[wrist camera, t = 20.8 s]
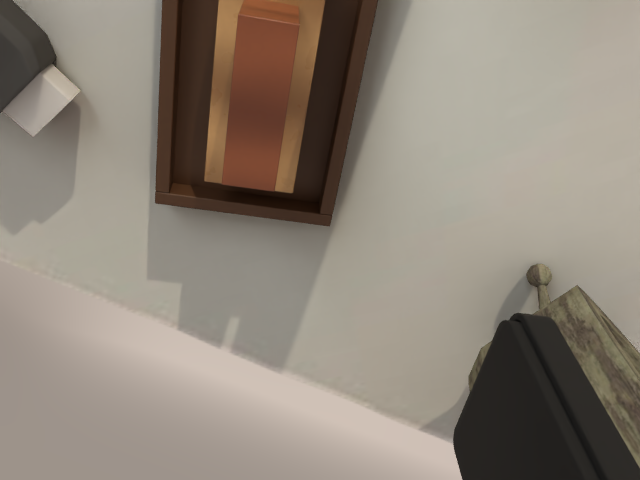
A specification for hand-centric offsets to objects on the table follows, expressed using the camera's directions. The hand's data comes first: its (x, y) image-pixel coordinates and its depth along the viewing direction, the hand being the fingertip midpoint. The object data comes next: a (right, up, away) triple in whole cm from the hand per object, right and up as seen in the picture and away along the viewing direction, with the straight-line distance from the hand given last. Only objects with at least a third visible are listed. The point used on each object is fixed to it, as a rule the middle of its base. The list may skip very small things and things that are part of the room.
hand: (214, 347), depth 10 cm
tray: (-1, +12, +24) cm, 26 cm away
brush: (-1, +11, +23) cm, 26 cm away
